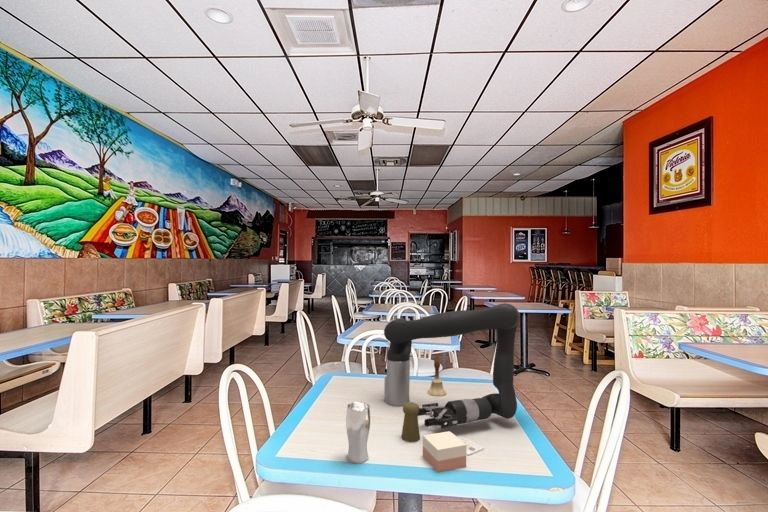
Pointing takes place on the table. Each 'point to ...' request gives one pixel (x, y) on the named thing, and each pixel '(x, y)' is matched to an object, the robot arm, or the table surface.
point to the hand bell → (436, 381)
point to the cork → (410, 423)
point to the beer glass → (358, 431)
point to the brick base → (444, 463)
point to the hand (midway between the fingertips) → (419, 417)
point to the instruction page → (470, 446)
